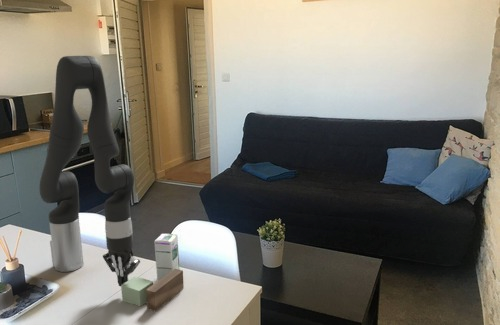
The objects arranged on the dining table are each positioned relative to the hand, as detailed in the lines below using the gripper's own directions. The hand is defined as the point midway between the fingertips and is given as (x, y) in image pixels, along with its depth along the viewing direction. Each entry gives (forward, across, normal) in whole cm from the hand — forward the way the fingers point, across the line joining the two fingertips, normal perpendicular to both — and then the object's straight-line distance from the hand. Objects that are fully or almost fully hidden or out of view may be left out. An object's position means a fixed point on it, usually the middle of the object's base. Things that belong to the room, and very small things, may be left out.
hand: (123, 285), depth 130 cm
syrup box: (+3, +6, +14) cm, 16 cm away
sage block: (+3, +5, 0) cm, 6 cm away
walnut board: (+3, +13, +4) cm, 14 cm away
